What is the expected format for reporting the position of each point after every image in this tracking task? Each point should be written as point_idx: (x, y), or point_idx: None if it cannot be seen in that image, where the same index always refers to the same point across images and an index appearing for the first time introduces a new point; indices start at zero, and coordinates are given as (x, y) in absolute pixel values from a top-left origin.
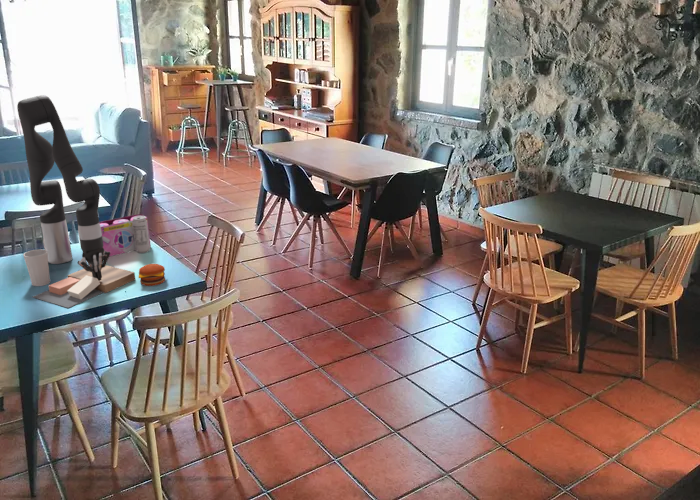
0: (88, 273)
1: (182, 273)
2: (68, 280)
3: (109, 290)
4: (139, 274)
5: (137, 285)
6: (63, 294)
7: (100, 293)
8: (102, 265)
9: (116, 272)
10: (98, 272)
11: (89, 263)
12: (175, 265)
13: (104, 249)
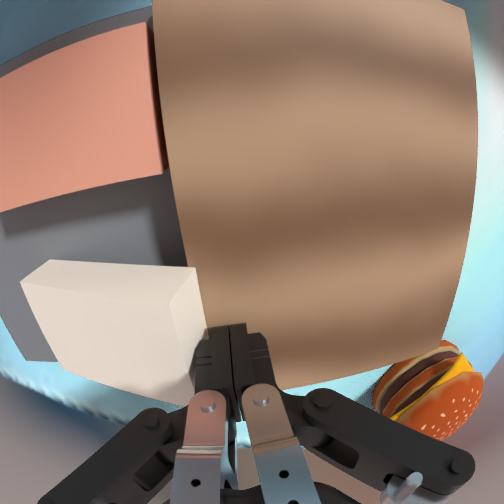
0: (302, 97)
1: (480, 371)
2: (87, 95)
3: None
4: (395, 419)
5: (364, 379)
6: (29, 206)
7: None
8: (305, 447)
9: (416, 281)
10: (240, 413)
11: (185, 478)
12: None
13: None
